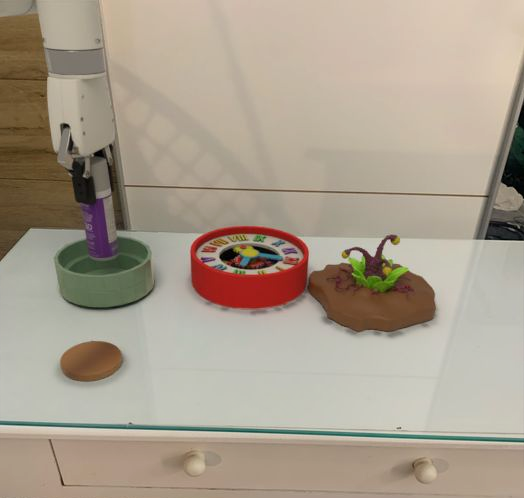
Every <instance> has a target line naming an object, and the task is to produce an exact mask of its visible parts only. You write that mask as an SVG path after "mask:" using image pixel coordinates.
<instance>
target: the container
mask: <svg viewBox="0 0 524 498" xmlns="http://www.w3.org/2000/svg"><path fill="white" fill-rule="evenodd" d="M76 161H77V162H79V164H80V165H81V166H82V159H79V158H76ZM90 176H91V177H93V179H94V186H95V193H96V200H97V202H96V203H95V204H94V205H92V204H84V203H80V208H81V213H82V220H83V225H84V232H85V238H86V239H87V245H88V251H89V257H90V258H91V259H93V260H96V261H108V260H112V259H114V258H116V257H117V256H118V255H119V250H118V242H117V236H118V235H117V227H116V219H115V210H114V203H113V195H112V192H111V187H110V180H109V174H108V167H107V161H106V159H105V158H103V157H97V156H91V155H90Z"/></svg>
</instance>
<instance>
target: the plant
mask: <svg viewBox="0 0 524 498" xmlns="http://www.w3.org/2000/svg"><path fill="white" fill-rule="evenodd" d="M387 241H390V244H392V245H394V246H397V245H399V244H400V243H401V238H400V237H399V236H398V235H397V234H389V235H386V236H385V237H384V238H383V239H381V242H380V243H379V244H378V246H377V247H376V251H375V254H374V256H372V255H371V254H370V253H369V252H368V250H366V249H365V248H363V247H360V246H353V247H350V248H347V249H344V250H343V251H342V252H341V257H342V258H343V259H344V260H345V259H347V260H348V262H349V263H347V262H340V263H338V264H333V263H332V264H331V263H329V264H326V265H325V267H324V268H323V269H319V270H313V271H312V272H311V273H310V274H309V276H308V285H307V289H308V292H309V293H310V295H311V296H312V297H313V298H315V299H316V300H317V301H318V302H319V303H320V304H321V306H322V307H323V309H324V310H325V312H326V316H327V318H329V319H330V320H332V321H334V322H335V323H337V324H339V325H341V326H343V327H347V328H350V329H352V330H354V331H355V332H362V331H366V330H378V331H383V332H393V331H397V330H399V329H403V328H406V327H409V326H412V325H413V326H414V325H416V324H420V323H425V322H428V321H432V320H433V319H434V316H435V313H436V309H437V306H436V301H435V298H436V293H435V290H434V288H433V287H432V286H431V285H430V284H429V283H428V281H427V280H426V279H425V278H424V277H423V276H421V275H419V274H416V273H413V272H411V271H410V270H409V267H406V266H403V265H401V264H400V263H394V260H393V259H392V258H390V259H387V257H386V256H385V255H384V254H383V251H384V247H385V246H386V243H387ZM352 251H356V252H359V253H361V254H362V256H361V261H360V260H359V259H356V258H355V257H350V256H351V252H352Z"/></svg>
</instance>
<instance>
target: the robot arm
mask: <svg viewBox="0 0 524 498" xmlns="http://www.w3.org/2000/svg"><path fill="white" fill-rule="evenodd" d="M35 14H37V16H38V20H39V27H40V32H41V39H42V44H43V50H44V56H45V62H46V67H47V73H48V77H46V78H47V79H46V99H47V111H48V122H49V130H50V135H51V143H52V147H53V150H54V151H53V152H55V153H56V154H57V156H56V162H57V163H58V164H59V165H61V167H64V169H65V170H66V171H67V174H68V176H69V177H71V182H72V188H73V194H74V200H75V202H76V203H77V204H78V203H79V204H81V203H84V204H92V205H94V204H95V203H96V202H97V200H96V193H95V186H94V179H93V177H91V176H90V156H97V157H103V158H105V159H106V161H107V167H108V174H109V180H110V187H111V193H114V191H115V183H114V175H113V168H112V167H113V166H112V165H113V161H114V160H113V157H112V154H113V148H114V147H113V146H114V143H115V141H116V128H115V119H114V118H115V117H114V112H113V105H112V99H111V94H110V88H109V84H108V80H107V75H108V74H107V73H108V72H107V65H106V57H105V48H104V39H103V31H102V22H101V13H100V5H99V0H0V18H3V17H19V16H28V15H35ZM76 150H78V153H76ZM77 159H82V166H81V165H80V164H79V162H77V161H76V160H77Z"/></svg>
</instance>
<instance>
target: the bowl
mask: <svg viewBox="0 0 524 498" xmlns="http://www.w3.org/2000/svg"><path fill="white" fill-rule="evenodd" d="M117 242H118V250H119V255H118V256H117V257H116V258H114V259H112V260H108V261H96V260H93V259H91V258H90V257H89V251H88V245H87V239H86V237H85V238H81V239H77V240H75V241H73V242H70V243H68V244H65V245H64V246H62V247H61V248H60V249H58V250H57V251H56V253H55V255H54V256H53V261H54V262H53V263H54V266H55V267H54V268H55V272H56V277H57V282H58V286H59V293H60V295H61V297H63V298H64V299H65V300H66V301H68V302H70V303H71V304H72V303H73V304H75V305H77V306H82V307H87V308H113V307H118V306H123V305H126V304H131V303H133V302H137V301H138V300H140V299H142V298H143V297H145V296H147V295H148V294H149V293H150V292H151V291H152V290H153V288H154V285H155V274H154V273H155V271H154V261H153V259H154V258H153V251H152V249H151V247H150V245H148V244H146V243H145V242H144V241H142V240H140V239H137V238H133V237H129V236H122V235H117Z"/></svg>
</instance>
